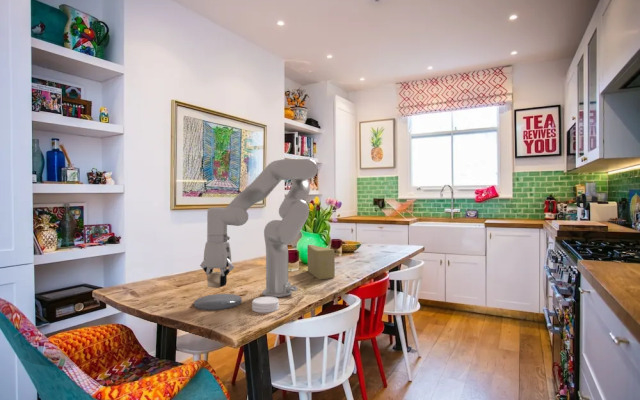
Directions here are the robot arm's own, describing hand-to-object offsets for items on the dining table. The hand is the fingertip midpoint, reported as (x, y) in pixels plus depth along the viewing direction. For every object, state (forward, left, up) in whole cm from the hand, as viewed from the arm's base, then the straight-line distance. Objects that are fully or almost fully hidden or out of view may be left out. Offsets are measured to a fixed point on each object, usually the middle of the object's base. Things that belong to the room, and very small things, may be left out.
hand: (216, 284), depth 142 cm
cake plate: (0, 0, -7) cm, 7 cm away
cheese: (-23, -59, -8) cm, 63 cm away
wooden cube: (0, 0, -1) cm, 1 cm away
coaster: (-21, +1, -8) cm, 23 cm away
